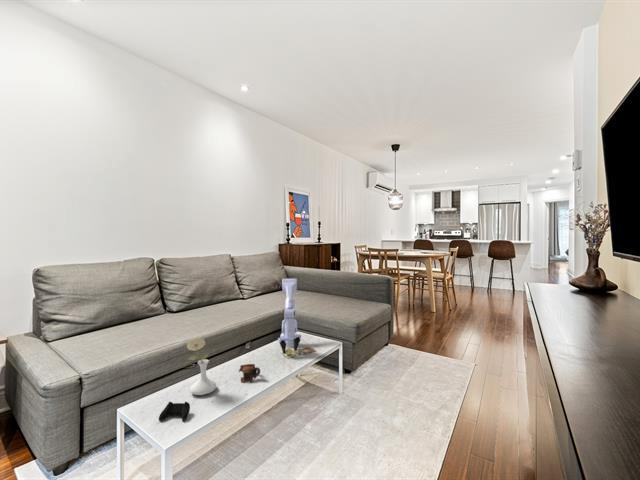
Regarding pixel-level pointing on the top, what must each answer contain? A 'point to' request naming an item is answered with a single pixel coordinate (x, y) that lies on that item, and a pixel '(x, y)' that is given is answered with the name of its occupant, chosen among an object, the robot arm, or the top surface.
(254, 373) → the pottery mug
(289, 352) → the ball
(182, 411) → the gaming controller
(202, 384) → the flower in vase
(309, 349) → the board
